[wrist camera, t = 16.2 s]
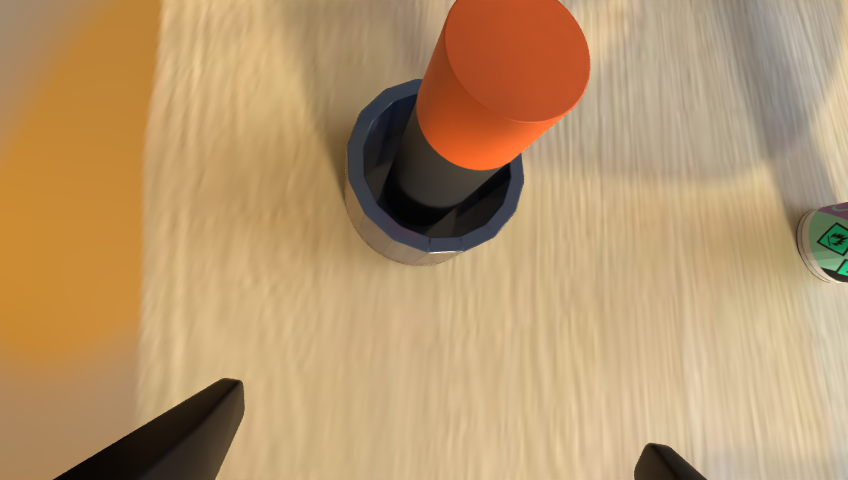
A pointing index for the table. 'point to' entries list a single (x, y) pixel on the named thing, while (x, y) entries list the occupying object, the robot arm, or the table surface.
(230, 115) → the table surface
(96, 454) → the robot arm
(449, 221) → the pen cup
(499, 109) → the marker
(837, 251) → the spray can
